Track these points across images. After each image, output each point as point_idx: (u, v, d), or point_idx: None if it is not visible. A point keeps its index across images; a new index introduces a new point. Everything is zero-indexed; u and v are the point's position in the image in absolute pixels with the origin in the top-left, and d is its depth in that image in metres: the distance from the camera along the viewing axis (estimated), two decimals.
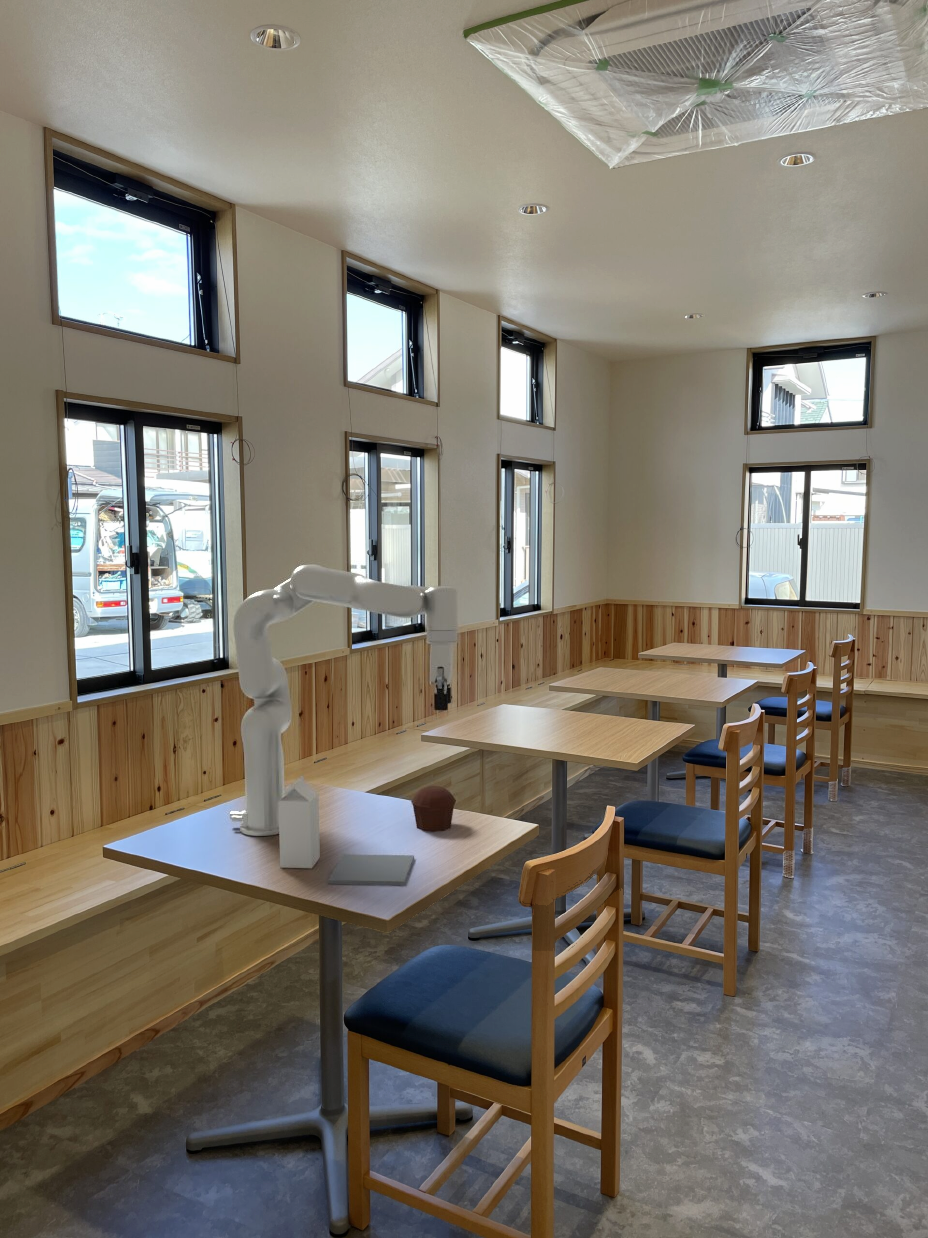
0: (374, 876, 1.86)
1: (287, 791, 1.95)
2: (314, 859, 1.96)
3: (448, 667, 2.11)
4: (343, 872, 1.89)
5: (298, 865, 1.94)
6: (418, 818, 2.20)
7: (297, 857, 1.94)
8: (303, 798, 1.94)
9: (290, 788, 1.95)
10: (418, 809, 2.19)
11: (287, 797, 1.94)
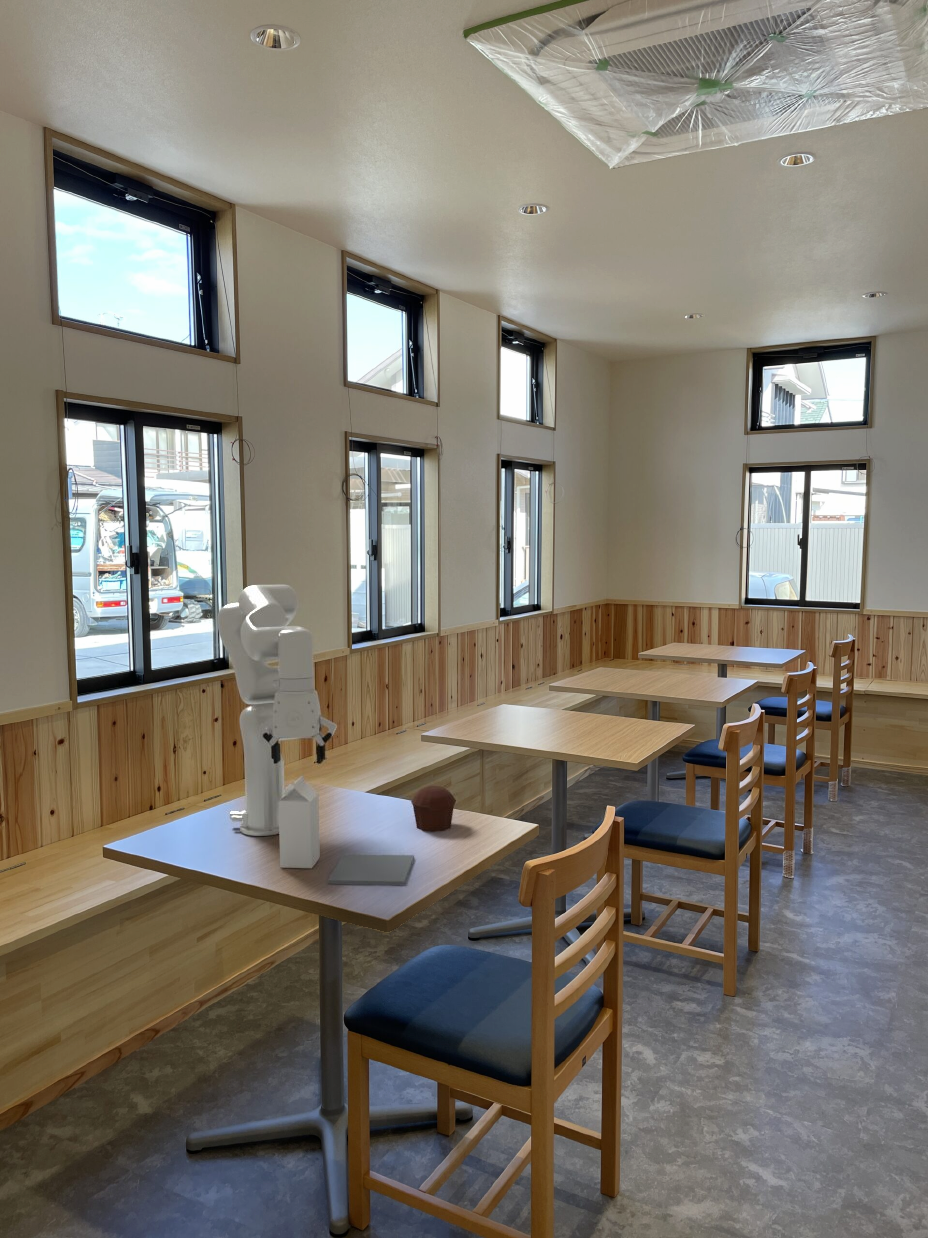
0: (374, 876, 1.86)
1: (287, 791, 1.95)
2: (314, 859, 1.96)
3: None
4: (343, 872, 1.89)
5: (298, 865, 1.94)
6: (418, 818, 2.20)
7: (297, 857, 1.94)
8: (303, 798, 1.94)
9: (290, 788, 1.95)
10: (418, 809, 2.19)
11: (287, 797, 1.94)
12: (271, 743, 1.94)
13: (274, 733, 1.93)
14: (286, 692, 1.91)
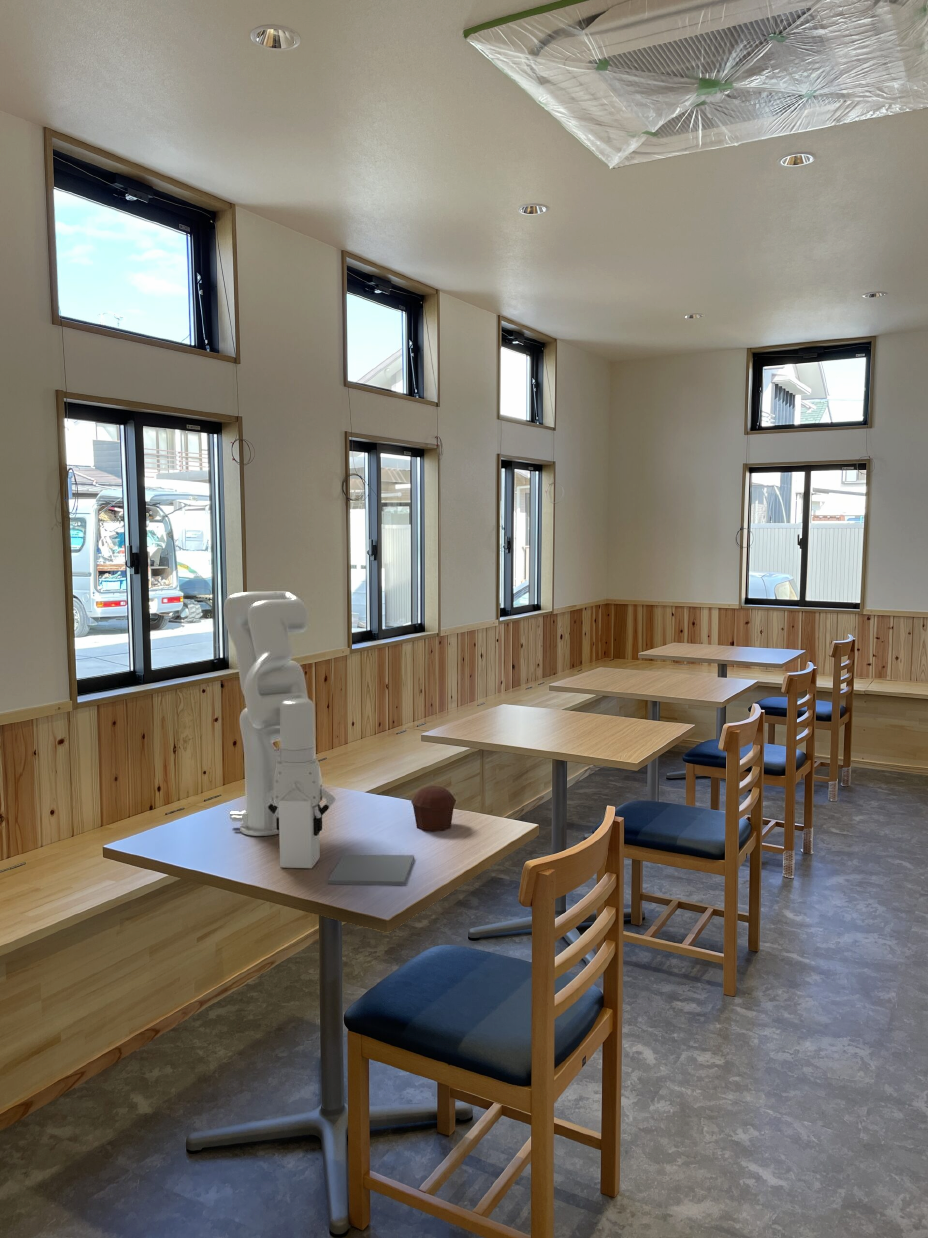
0: (374, 876, 1.86)
1: None
2: (314, 859, 1.96)
3: None
4: (343, 872, 1.89)
5: (298, 865, 1.94)
6: (418, 818, 2.20)
7: (297, 857, 1.93)
8: None
9: None
10: (418, 809, 2.19)
11: None
12: (276, 815, 1.96)
13: (275, 803, 1.94)
14: (287, 763, 1.92)
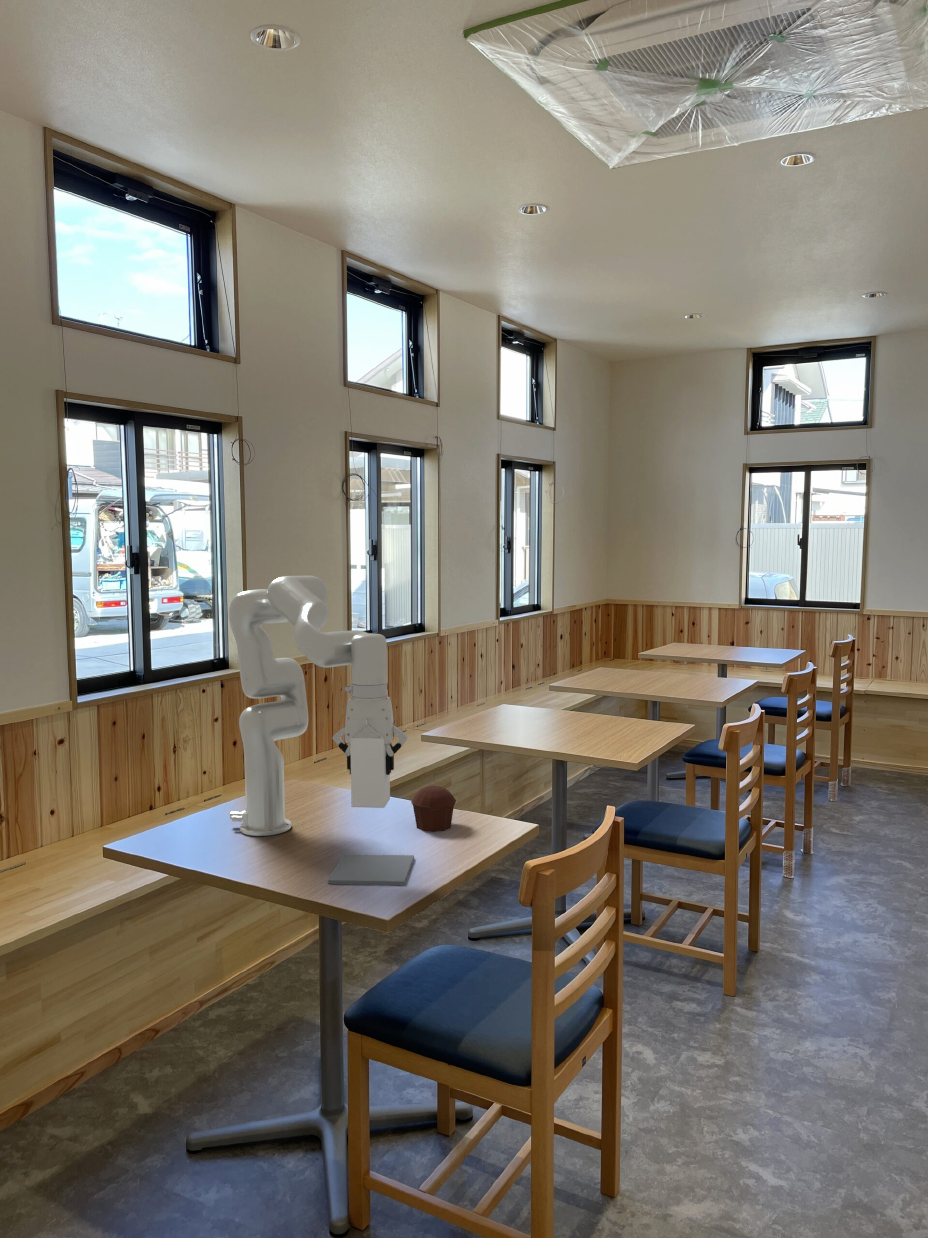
0: (374, 876, 1.86)
1: None
2: (386, 799, 1.89)
3: None
4: (343, 872, 1.89)
5: (370, 804, 1.87)
6: (418, 818, 2.20)
7: (369, 796, 1.87)
8: None
9: None
10: (418, 809, 2.19)
11: None
12: (347, 753, 1.89)
13: (347, 740, 1.88)
14: (360, 699, 1.86)
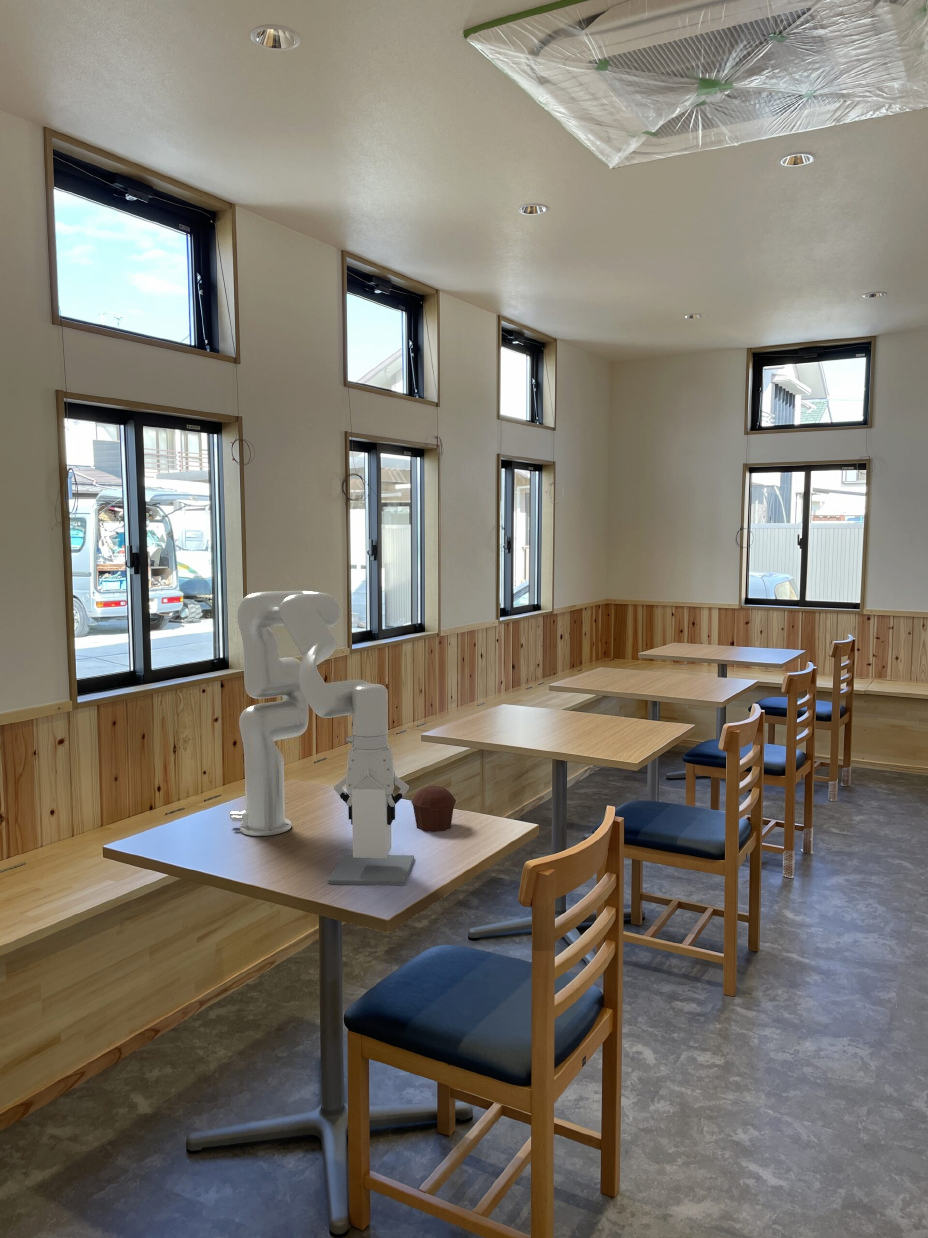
0: (374, 876, 1.86)
1: None
2: (387, 849, 1.90)
3: None
4: (343, 872, 1.89)
5: (372, 855, 1.88)
6: (418, 818, 2.20)
7: (371, 847, 1.88)
8: None
9: None
10: (418, 809, 2.19)
11: None
12: (349, 804, 1.90)
13: (348, 791, 1.88)
14: (361, 750, 1.87)
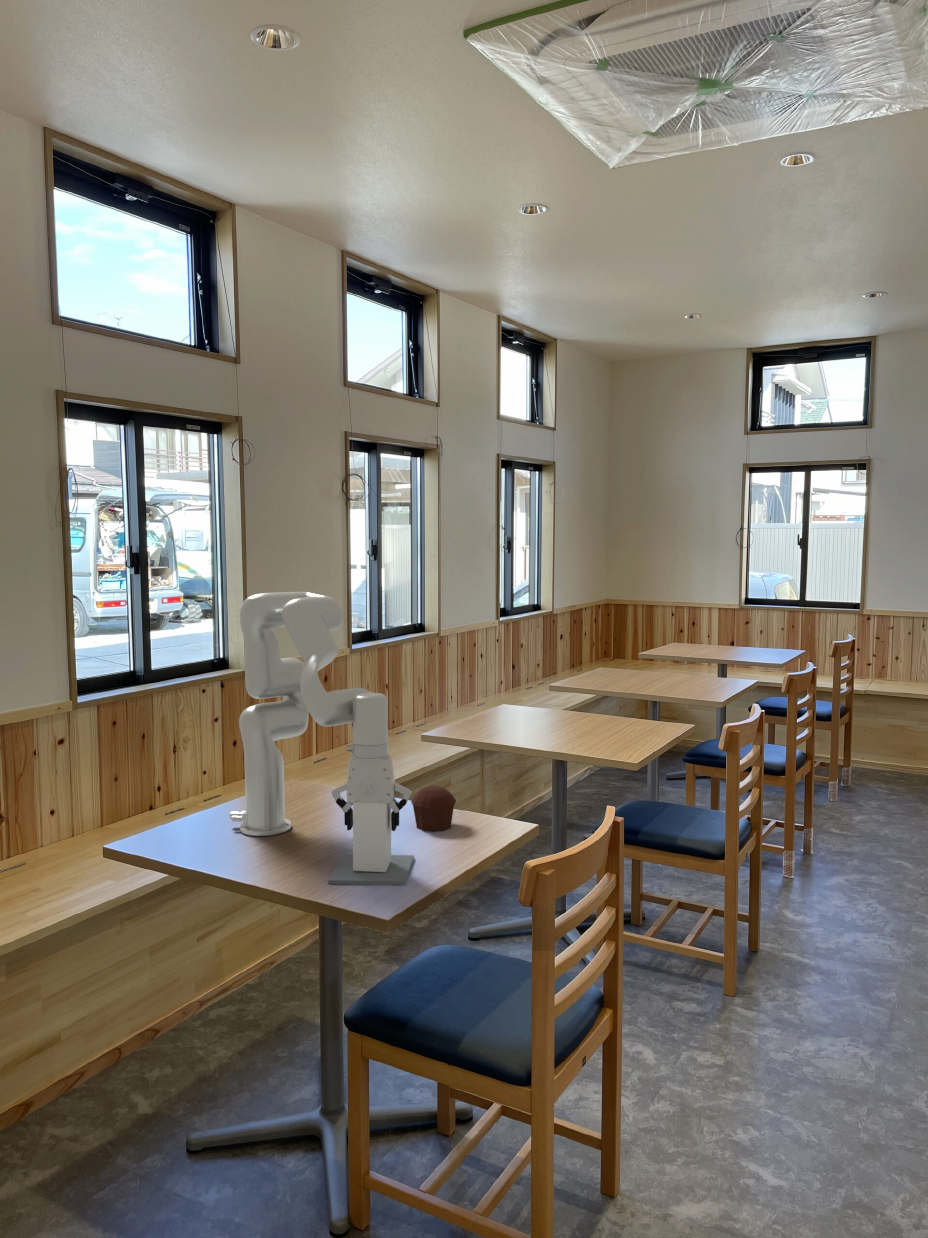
0: (374, 876, 1.86)
1: None
2: (387, 863, 1.91)
3: None
4: (343, 872, 1.89)
5: (372, 868, 1.88)
6: (418, 818, 2.20)
7: (371, 861, 1.88)
8: None
9: None
10: (418, 809, 2.19)
11: None
12: (345, 809, 1.90)
13: (348, 800, 1.89)
14: (361, 759, 1.87)
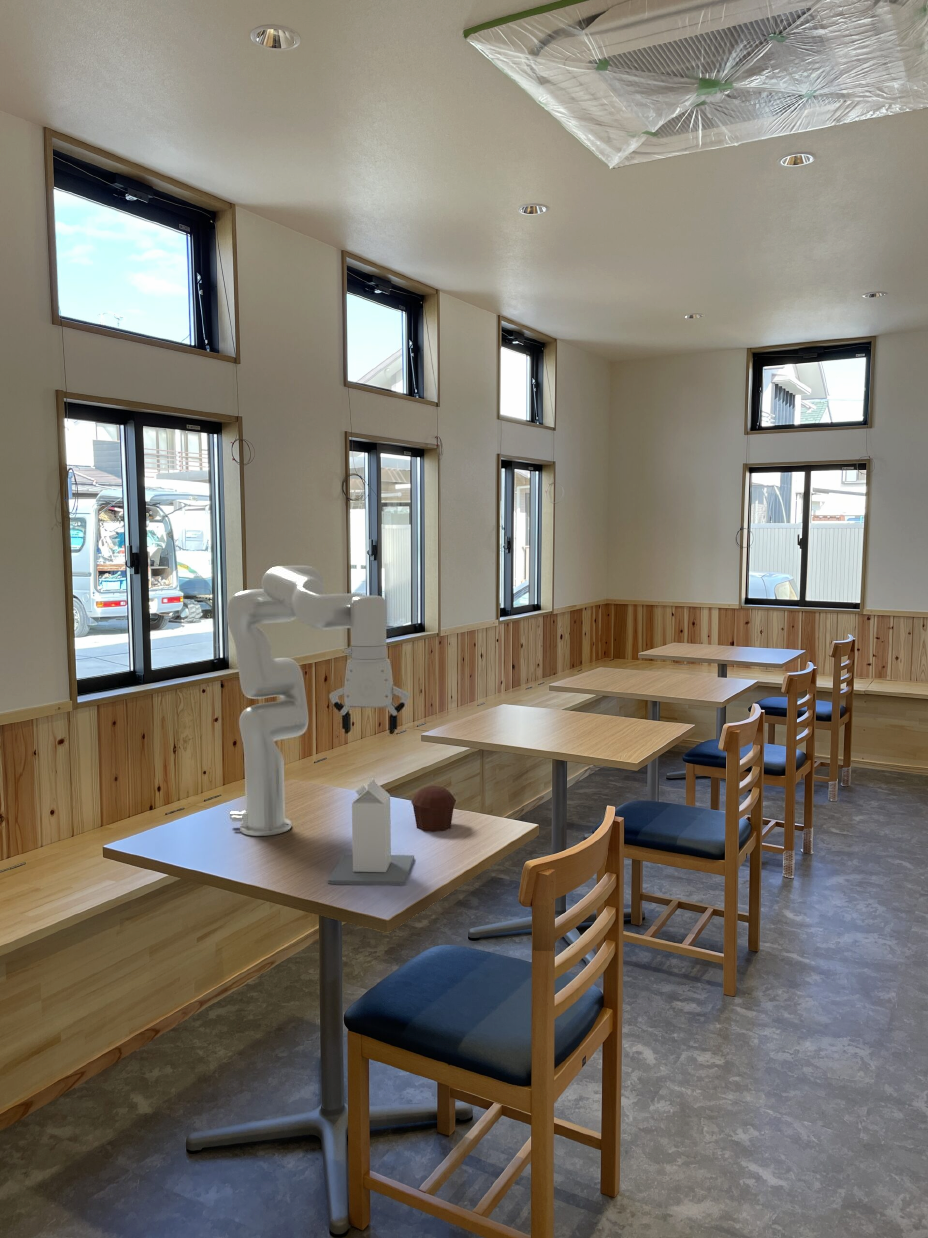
0: (374, 876, 1.86)
1: (359, 793, 1.90)
2: (387, 863, 1.91)
3: None
4: (343, 872, 1.89)
5: (372, 869, 1.88)
6: (418, 818, 2.20)
7: (371, 861, 1.88)
8: (377, 800, 1.89)
9: (363, 790, 1.90)
10: (418, 809, 2.19)
11: (360, 799, 1.89)
12: (342, 712, 1.89)
13: (346, 702, 1.87)
14: (359, 660, 1.86)
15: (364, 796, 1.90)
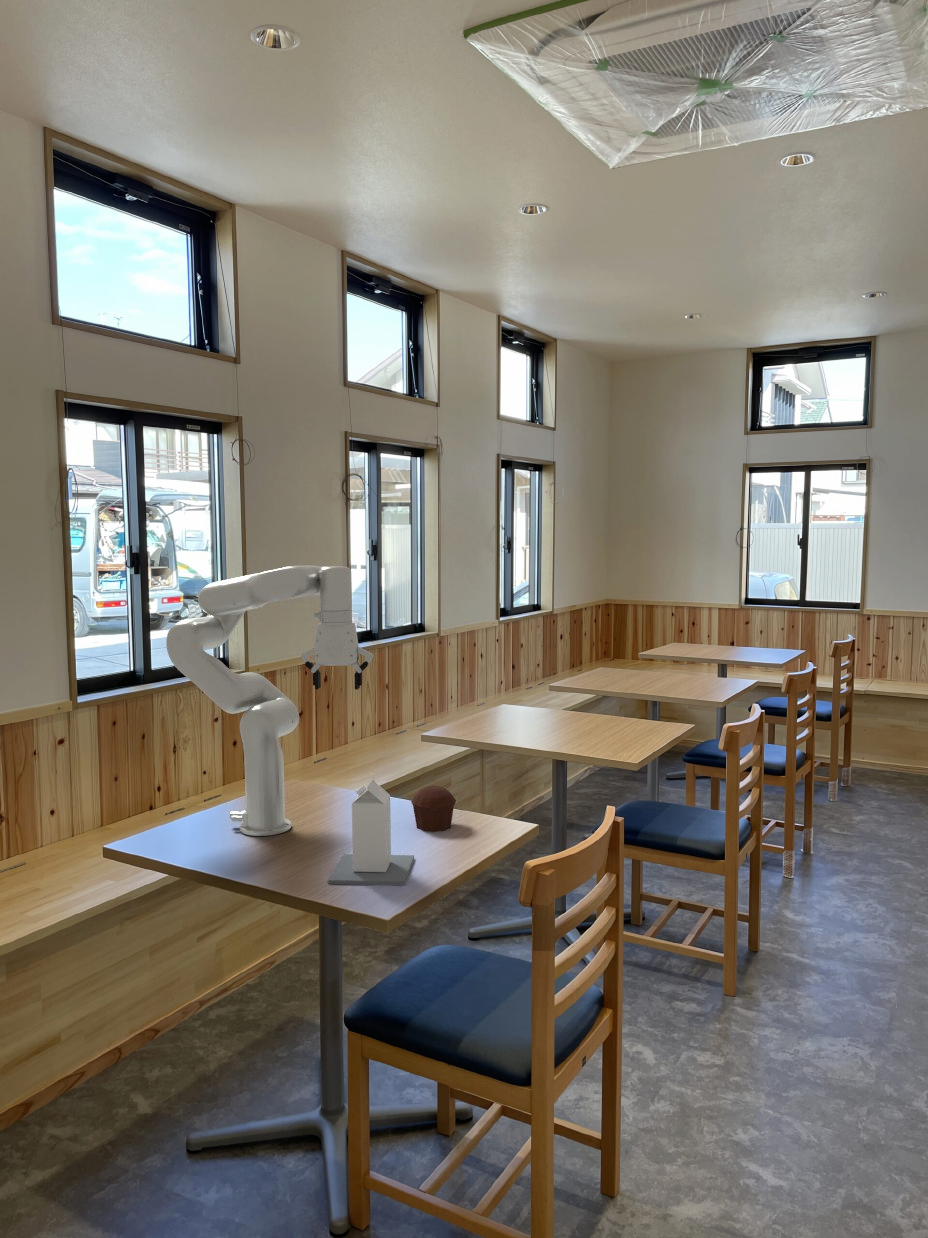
0: (374, 876, 1.86)
1: (359, 793, 1.90)
2: (387, 863, 1.91)
3: None
4: (343, 872, 1.89)
5: (372, 869, 1.88)
6: (418, 818, 2.20)
7: (371, 861, 1.88)
8: (377, 800, 1.89)
9: (363, 790, 1.90)
10: (418, 809, 2.19)
11: (360, 799, 1.89)
12: (313, 670, 2.12)
13: (316, 661, 2.10)
14: (327, 623, 2.09)
15: (364, 796, 1.90)
